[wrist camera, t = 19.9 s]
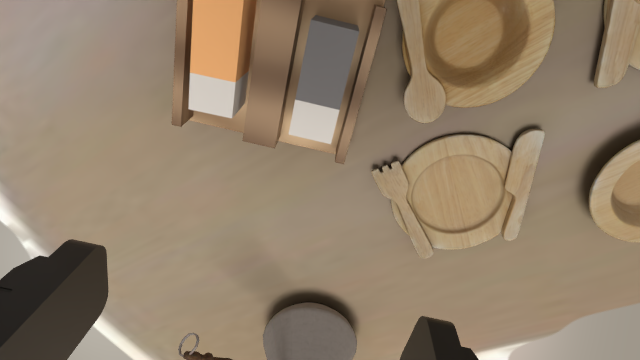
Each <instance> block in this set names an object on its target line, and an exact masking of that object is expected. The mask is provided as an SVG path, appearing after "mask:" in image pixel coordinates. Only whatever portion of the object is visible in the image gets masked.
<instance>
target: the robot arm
mask: <svg viewBox="0 0 640 360" xmlns="http://www.w3.org/2000/svg"><path fill="white" fill-rule="evenodd" d="M107 297H108V274H107V254H106V249H105V247H104V246H101V245H96V244H91V243H87V242H82V241H77V240H73V239H72V240H68V241H66V242H65V243H63V244H62V245H61V246H60V247H59V248H58V249H57V250H56V251H55V252H54V253H52V254H51V255H50V256H49V257H44V256H38V257H36V258H34V259H32V260H30V261H28V262H25V263H23V264H21V265H20V266H17V267H15V268H13V269H12V270H11V271H10V272H9V273H8V274H6V275H5V276H4V277H3V278H2V279H1V280H0V360H67V359H68V358H69V356H70V355H71V354H72V352H73V351H74V350H75V348H76V347H77V346H78V344H79V343H80V342H81V340H82V339H83V338H84V336H85V335H86V333H87V332H88V331H89V329H90V328H91V327H92V325H93V324H94V323H95V321H96V320H97V319H98V317H99V316H100V314H101V313H102V311H103V309H104V306H105V304H106V301H107ZM400 360H478V358H477V357H476V355H475V354H474V353H473V351H472V350H471V349H470V348H465V347H461V345H460V341H459V338H458V335H457V332H456V329H455V326H454V324H453V323H451V322H448V321H443V320H439V319H434V318H429V317H425V316H421V317H420V318H419V319H418V321H417V323H416V325H415V327H414V330H413V332H412V334H411V336H410V338H409V340H408V342H407V344H406V346H405V348H404V350H403V352H402V355H401V358H400Z"/></svg>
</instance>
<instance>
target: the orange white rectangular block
mask: <svg viewBox="0 0 640 360" xmlns="http://www.w3.org/2000/svg"><path fill="white" fill-rule="evenodd" d="M256 3H257V0H193V14H192V38H191V61H190V84H189V108H188V109H190V110H195V111H199V112H204V113H209V114H213V115H218V116H222V117H227V118H233V117H234V116H235V114H236V113H237V112H238V111H239V110H240V109H241V107H242V106H243V105H244V104H245V100H246V91H247V82H248V73H249V65H250V56H251V47H252V38H253V29H254V20H255V12H256Z"/></svg>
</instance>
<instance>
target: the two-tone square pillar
mask: <svg viewBox="0 0 640 360" xmlns="http://www.w3.org/2000/svg"><path fill="white" fill-rule="evenodd" d="M358 35H359V27H358V25H354V24H350V23H346V22H342V21H338V20H334V19H330V18H326V17H322V16H318V15H315V16H314V17H313V18H312V19H311V21H310V26H309V31H308V37H307V42H306V47H305V52H304V57H303V62H302V67H301V73H300V78H299V83H298V88H297V93H296V98H295V103H294V108H293V114H292V119H291V124H290V129H289V135H293V136H298V137H302V138H306V139H310V140H315V141H319V142H323V143H328V144H331V142H332V138H333V134H334V130H335V126H336V122H337V118H338V114H339V110H340V106H341V102H342V98H343V94H344V90H345V86H346V82H347V78H348V75H349V71H350V67H351V63H352V59H353V55H354V51H355V47H356V43H357V39H358Z"/></svg>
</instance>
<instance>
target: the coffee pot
mask: <svg viewBox="0 0 640 360" xmlns="http://www.w3.org/2000/svg"><path fill="white" fill-rule="evenodd" d="M190 335H196V339H197V341H196V345H195V347H194V349H193V350H192V351H186V352H185V353H184V355H182V354H181V347H182V344H183V342H184V341H185V339H186V338H187V337H189V336H190ZM198 343H199V337H198V335H197V334H195V333H190V334H188V335H187V336H185V337H184V338H183V340H182V341H181V343H180V346H179V349H178V350H179V355H180V356H182V357H184V359H187V360H232V359H230V358H218V357H213V355H212V354H211V353H206V354H205V355H202V354H200V353H199V352H195V350H196V348H197V347H198ZM263 344H264V349H265V353H266V357H267V360H352V359H353V357H354V355H355V353H356V347H357V340H356V336H355V333H354V330H353V329H352V327H351V325H350V324H349V322H348V321H347V319H346V318H345V317H343V316H342V315H341V314H340V313H339V312H337V311H335V310H333V309H331V308H329V307H327V306H325V305H323V304H319V303H313V302H306V303H299V304H295V305H292V306H289V307H287V308H284V309H282V310H281V311H279V312H278V313H277V314H275V315H274V317H273V318H272V319H271V320H270V321H269V323H268V324H267V325H266V328H265V331H264V334H263Z"/></svg>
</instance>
